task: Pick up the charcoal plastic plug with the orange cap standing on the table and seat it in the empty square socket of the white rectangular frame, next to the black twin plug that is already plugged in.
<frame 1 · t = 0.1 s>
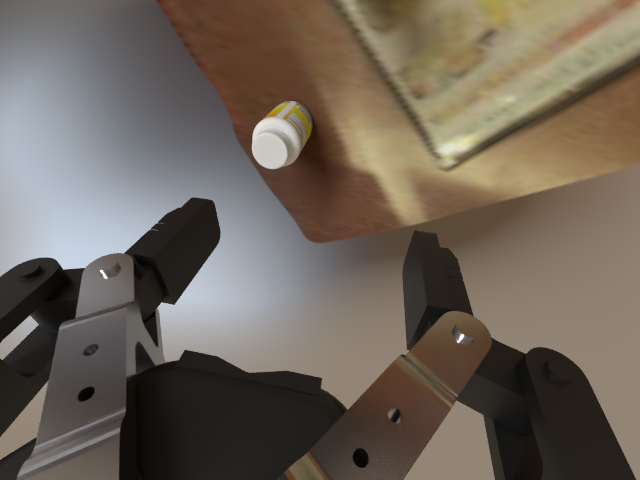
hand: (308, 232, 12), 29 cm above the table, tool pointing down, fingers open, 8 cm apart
supplement bottle: (293, 122, 38), on the table
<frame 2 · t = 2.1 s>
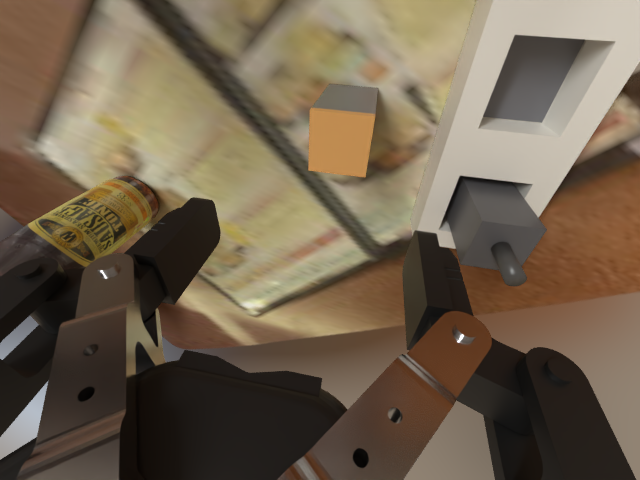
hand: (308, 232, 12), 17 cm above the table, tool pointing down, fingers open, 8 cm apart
white rectangular frame: (491, 138, 24), on the table
sauce bottle: (137, 193, 35), on the table
plug: (350, 111, 25), on the table
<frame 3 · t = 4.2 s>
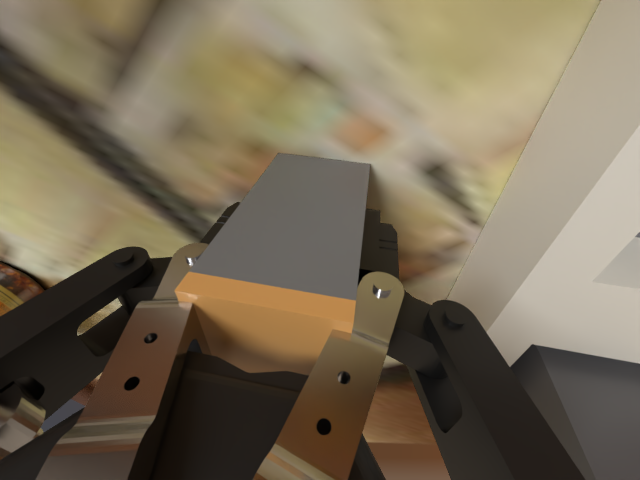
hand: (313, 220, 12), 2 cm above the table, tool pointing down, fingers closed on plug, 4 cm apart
white rectangular frame: (581, 254, 13), on the table
sauce bottle: (19, 280, 24), on the table
plug: (321, 198, 14), on the table, touching gripper
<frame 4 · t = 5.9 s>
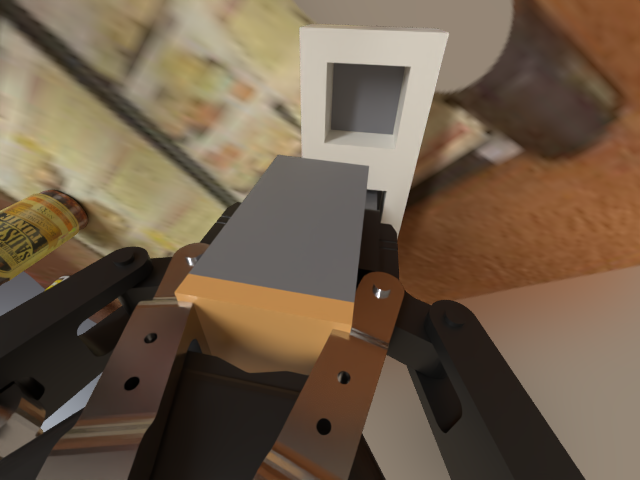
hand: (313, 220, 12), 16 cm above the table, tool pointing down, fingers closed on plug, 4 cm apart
white rectangular frame: (359, 149, 26), on the table
sauce bottle: (67, 206, 37), on the table
plug: (320, 200, 14), point 14 cm above the table, touching gripper
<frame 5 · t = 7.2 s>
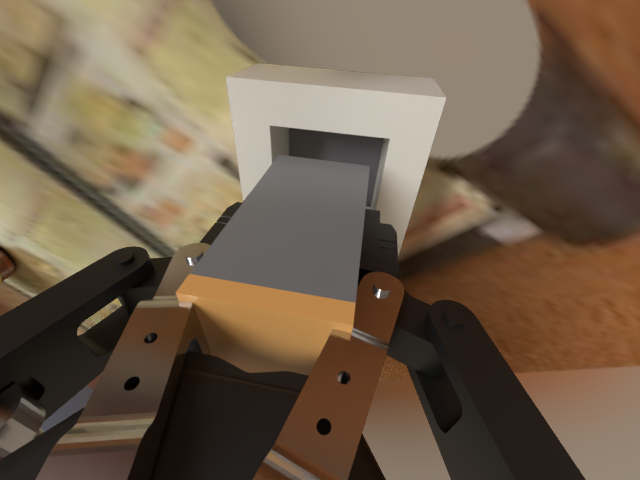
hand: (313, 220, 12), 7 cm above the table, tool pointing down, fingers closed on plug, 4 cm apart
white rectangular frame: (330, 216, 20), on the table
plug: (321, 200, 14), point 5 cm above the table, touching gripper
when the fingers open (4 cm above the table, at t = 8.0 s): plug drops 1 cm, resting on white rectangular frame.
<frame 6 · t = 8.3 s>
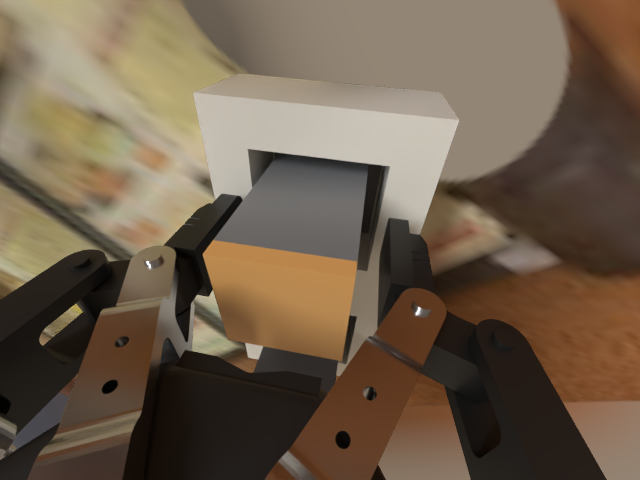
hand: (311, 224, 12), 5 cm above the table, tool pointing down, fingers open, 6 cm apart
white rectangular frame: (323, 240, 18), on the table
plug: (325, 186, 15), point 1 cm above the table, touching white rectangular frame
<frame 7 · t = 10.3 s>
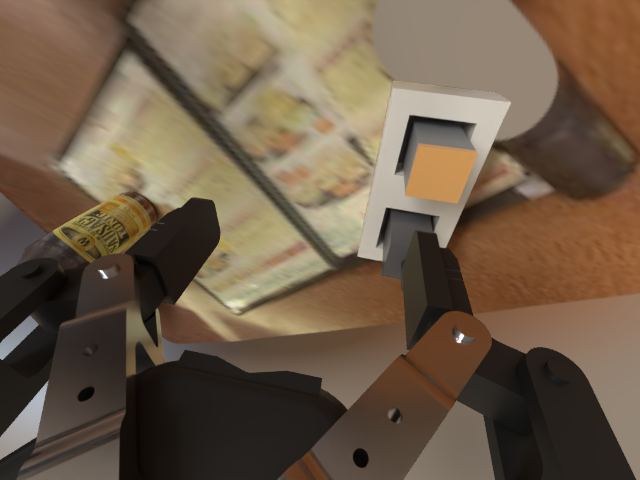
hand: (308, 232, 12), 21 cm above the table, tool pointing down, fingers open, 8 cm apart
white rectangular frame: (415, 178, 31), on the table
sauce bottle: (139, 206, 42), on the table
plug: (428, 141, 27), point 1 cm above the table, touching white rectangular frame
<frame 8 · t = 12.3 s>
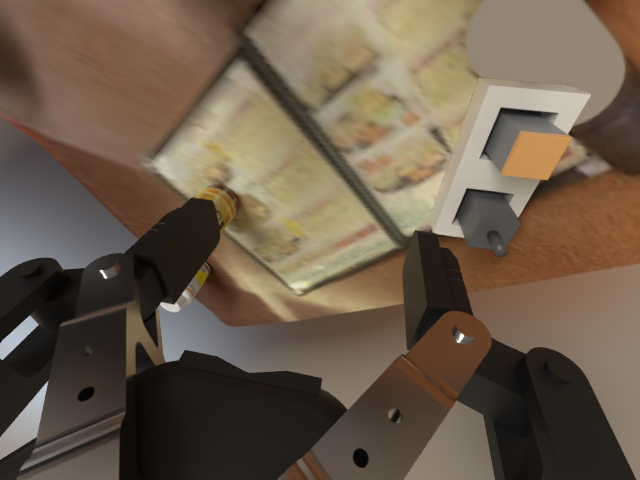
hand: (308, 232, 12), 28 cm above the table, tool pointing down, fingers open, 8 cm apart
white rectangular frame: (487, 162, 36), on the table
supplement bottle: (198, 264, 58), on the table
sauce bottle: (222, 197, 47), on the table
plug: (506, 129, 32), point 1 cm above the table, touching white rectangular frame
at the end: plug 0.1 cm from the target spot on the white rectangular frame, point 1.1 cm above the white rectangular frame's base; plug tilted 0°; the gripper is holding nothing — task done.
